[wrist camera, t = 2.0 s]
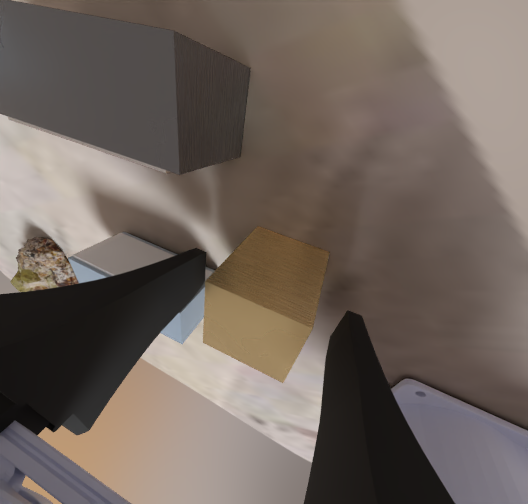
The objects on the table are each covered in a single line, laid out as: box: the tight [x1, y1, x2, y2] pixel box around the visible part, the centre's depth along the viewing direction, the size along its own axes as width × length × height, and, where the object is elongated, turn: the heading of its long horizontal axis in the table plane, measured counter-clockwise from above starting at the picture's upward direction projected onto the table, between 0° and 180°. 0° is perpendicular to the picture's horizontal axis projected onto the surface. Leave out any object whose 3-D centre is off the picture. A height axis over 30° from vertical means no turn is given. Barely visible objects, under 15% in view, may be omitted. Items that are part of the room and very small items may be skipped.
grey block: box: [0, 0, 250, 175], centre depth 8 cm, size 9×3×4 cm, turn 78°
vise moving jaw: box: [68, 232, 215, 344], centre depth 15 cm, size 8×6×4 cm
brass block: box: [203, 226, 330, 383], centre depth 10 cm, size 4×4×5 cm
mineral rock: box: [11, 237, 79, 292], centre depth 23 cm, size 11×4×8 cm
